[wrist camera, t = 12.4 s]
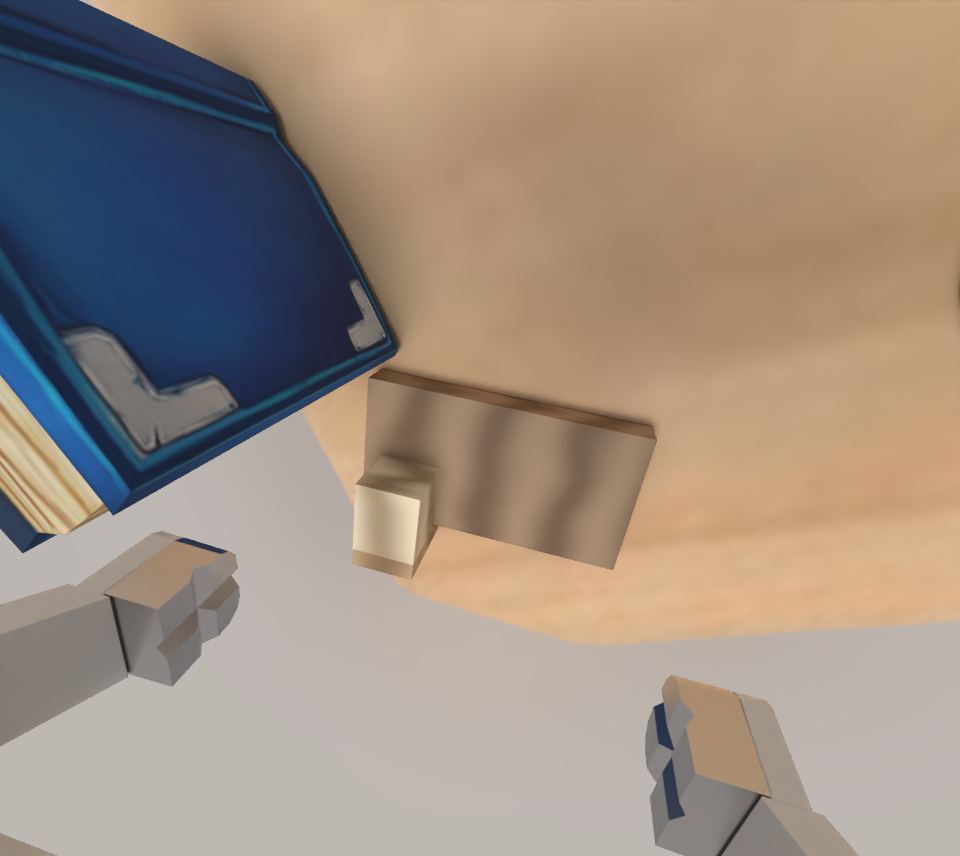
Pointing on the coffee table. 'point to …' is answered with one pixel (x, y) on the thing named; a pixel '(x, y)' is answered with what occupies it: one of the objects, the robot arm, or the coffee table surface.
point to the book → (151, 269)
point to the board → (514, 464)
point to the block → (394, 516)
